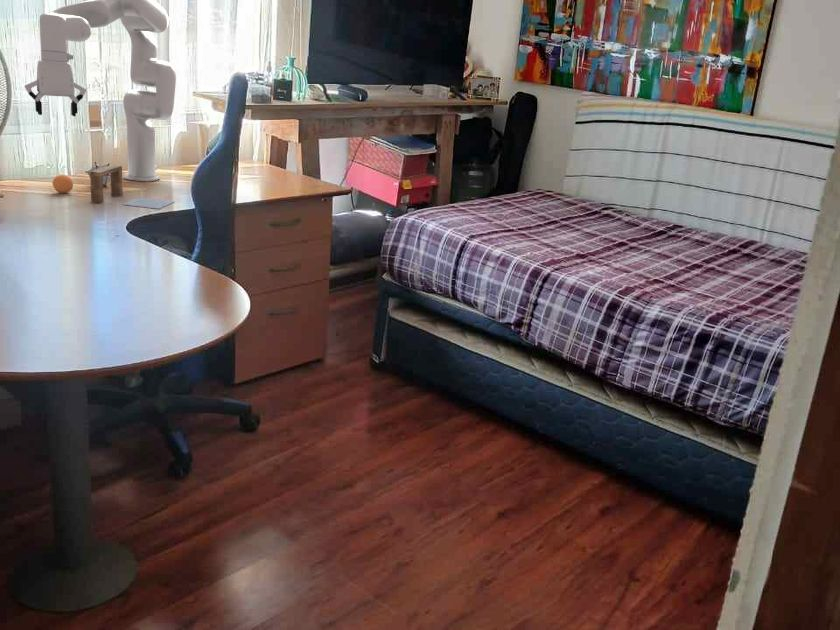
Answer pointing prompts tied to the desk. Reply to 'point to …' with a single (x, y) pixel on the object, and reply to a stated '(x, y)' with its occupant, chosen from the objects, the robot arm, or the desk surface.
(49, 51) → the robot arm
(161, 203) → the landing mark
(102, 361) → the desk surface
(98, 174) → the bridge
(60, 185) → the ball
